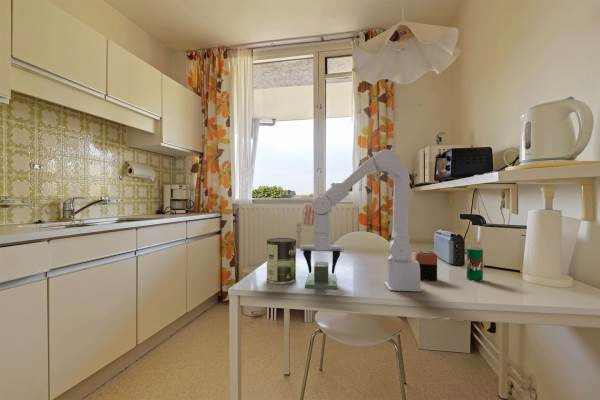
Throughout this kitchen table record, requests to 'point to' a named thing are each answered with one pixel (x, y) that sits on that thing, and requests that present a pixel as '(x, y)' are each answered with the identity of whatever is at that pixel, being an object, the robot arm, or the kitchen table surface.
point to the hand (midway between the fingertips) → (321, 272)
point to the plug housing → (321, 272)
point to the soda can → (474, 262)
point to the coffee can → (281, 260)
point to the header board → (324, 285)
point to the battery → (427, 265)
